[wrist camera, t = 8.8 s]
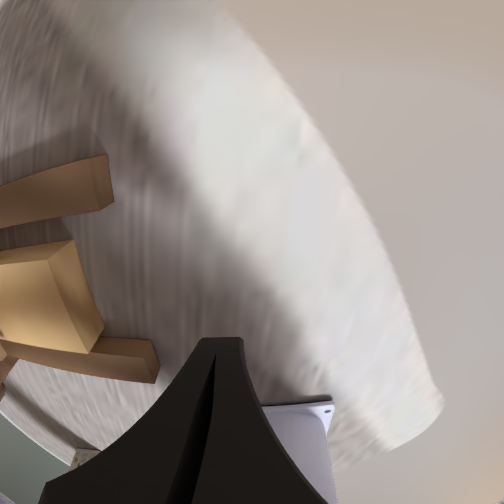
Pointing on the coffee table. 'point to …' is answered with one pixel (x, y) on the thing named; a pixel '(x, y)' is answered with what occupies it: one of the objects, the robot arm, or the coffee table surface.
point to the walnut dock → (57, 205)
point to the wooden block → (2, 391)
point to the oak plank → (47, 298)
